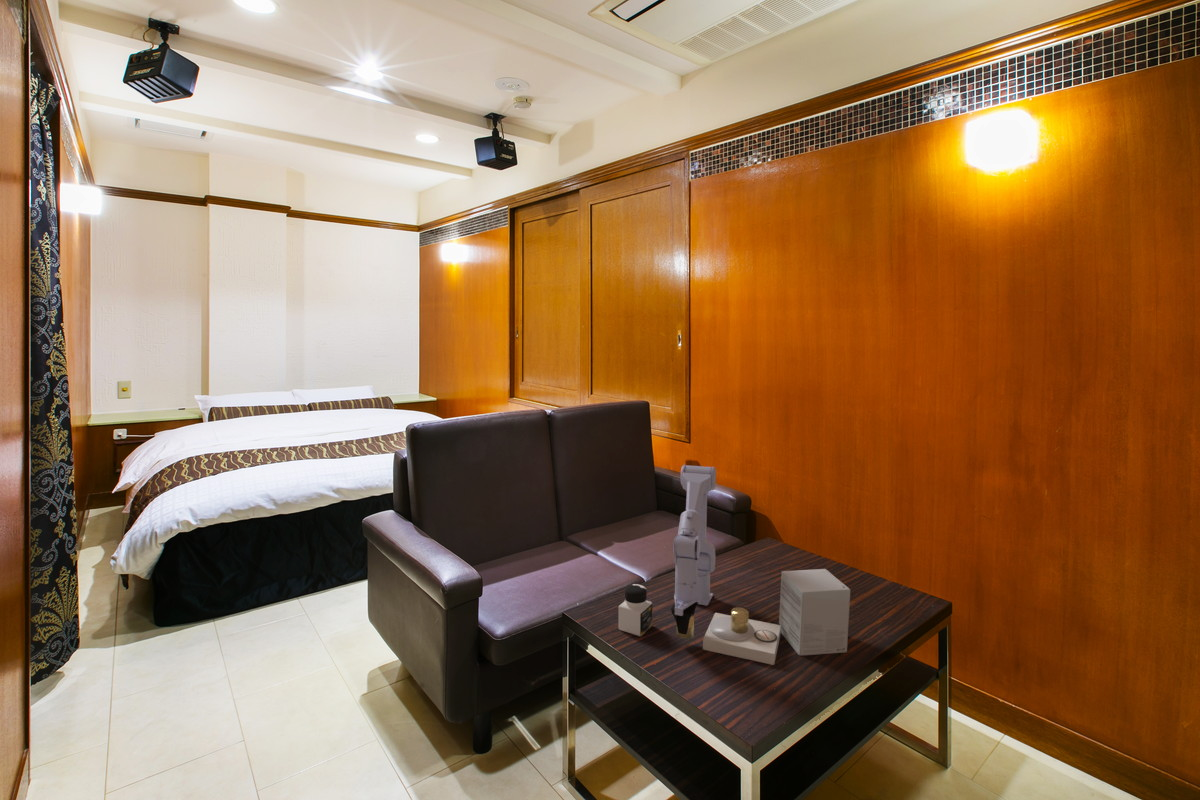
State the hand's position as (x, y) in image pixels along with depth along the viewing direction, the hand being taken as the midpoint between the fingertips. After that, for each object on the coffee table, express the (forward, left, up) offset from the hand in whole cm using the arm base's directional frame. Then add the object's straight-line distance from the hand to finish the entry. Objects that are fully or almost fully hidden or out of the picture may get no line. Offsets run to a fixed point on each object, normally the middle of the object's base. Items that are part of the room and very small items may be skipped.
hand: (685, 628), depth 155 cm
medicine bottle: (-15, +3, -5) cm, 16 cm away
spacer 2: (+13, +7, -1) cm, 15 cm away
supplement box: (+31, +15, -5) cm, 35 cm away
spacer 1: (0, 0, -2) cm, 2 cm away
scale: (+14, +7, -5) cm, 16 cm away
